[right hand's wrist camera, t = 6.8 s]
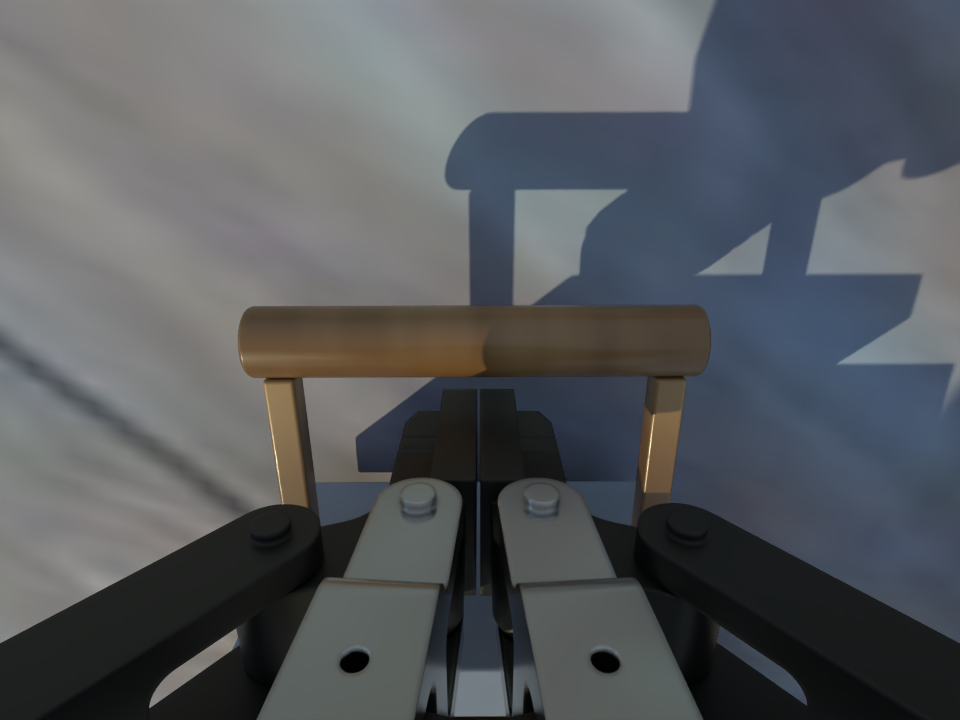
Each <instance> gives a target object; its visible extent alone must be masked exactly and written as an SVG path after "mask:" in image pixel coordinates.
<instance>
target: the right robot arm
mask: <svg viewBox="0 0 960 720" xmlns="http://www.w3.org/2000/svg"><path fill="white" fill-rule="evenodd" d="M557 448H558V447H557V443H556V439H555V435H554V431H553V427H552V423H551V422H550V421H549V420H548V419H547V418H545V417H544V416H543V415H542V414H541V413H540V412H539V411H517V410H516V403H515V395H514V389H480V596H492V612H493V617H494V619H495V621H496V641H497V649H498V657H499V665H500V673H501V681H502V689H503V697H504V705H505V713H506V719H502V720H960V643H958V642H956V641H954V640H952V639H950V638H948V637H947V636H945V635H943V634H941V633H939V632H937V631H935V630H933V629H931V628H929V627H928V626H926V625H924V624H922V623H920V622H918V621H916V620H914V619H912V618H910V617H909V616H907V615H905V614H903V613H901V612H899V611H897V610H895V609H893V608H891V607H890V606H888V605H886V604H884V603H882V602H880V601H878V600H876V599H874V598H872V597H871V596H869V595H867V594H865V593H863V592H861V591H859V590H857V589H855V588H853V587H852V586H850V585H848V584H846V583H844V582H842V581H840V580H838V579H836V578H834V577H833V576H831V575H829V574H827V573H825V572H823V571H821V570H819V569H817V568H815V567H814V566H812V565H810V564H808V563H806V562H804V561H802V560H800V559H798V558H796V557H795V556H793V555H791V554H789V553H787V552H785V551H783V550H781V549H779V548H777V547H776V546H774V545H772V544H770V543H768V542H766V541H764V540H762V539H760V538H758V537H757V536H755V535H753V534H751V533H749V532H747V531H745V530H743V529H741V528H739V527H738V526H736V525H734V524H732V523H730V522H728V521H726V520H724V519H722V518H720V517H719V516H717V515H715V514H713V513H711V512H709V511H706V510H704V509H701V508H699V507H695V506H691V505H687V504H680V503H664V504H658V505H654V506H651V507H649V508H647V509H646V510H644V511H643V512H642V513H641V514H640V516H639V518H638V521H637V527H634V526H630V525H625V524H620V523H615V522H611V521H607V520H604V519H601V518H598V517H595V516H593V515H591V514H590V512H589V509H588V507H587V504H586V502H585V500H584V498H583V496H582V495H581V494H580V493H579V491H577V490H576V489H575V488H573V487H572V486H570V485H568V484H567V483H566V479H565V475H564V471H563V467H562V463H561V459H560V455H559V451H558V449H557ZM476 561H477V389H443V395H442V402H441V409H440V411H418V412H417V413H416V414H415V415H414V416H413V417H411V418H410V419H409V420H408V421H407V422H406V423H405V427H404V430H403V434H402V439H401V442H400V446H399V450H398V453H397V457H396V461H395V465H394V469H393V473H392V476H391V480H390V484H389V486H388V487H387V488H385V489H384V490H383V491H381V493H380V494H379V495H378V496H377V498H376V500H375V502H374V504H373V507H372V509H371V511H370V512H368V513H366V514H364V515H362V516H360V517H357V518H355V519H352V520H348V521H344V522H340V523H335V524H330V525H325V526H321V524H320V520H319V517H318V516H317V514H316V513H315V512H313V511H312V510H311V509H308V508H306V507H303V506H300V505H293V504H280V505H272V506H267V507H263V508H260V509H257V510H254V511H252V512H250V513H247V514H245V515H243V516H241V517H240V518H238V519H236V520H234V521H232V522H230V523H228V524H226V525H224V526H222V527H221V528H219V529H217V530H215V531H213V532H211V533H209V534H207V535H205V536H203V537H202V538H200V539H198V540H196V541H194V542H192V543H190V544H188V545H186V546H184V547H183V548H181V549H179V550H177V551H175V552H173V553H171V554H169V555H167V556H165V557H164V558H162V559H160V560H158V561H156V562H154V563H152V564H150V565H148V566H146V567H145V568H143V569H141V570H139V571H137V572H135V573H133V574H131V575H129V576H127V577H126V578H124V579H122V580H120V581H118V582H116V583H114V584H112V585H110V586H108V587H107V588H105V589H103V590H101V591H99V592H97V593H95V594H93V595H91V596H89V597H88V598H86V599H84V600H82V601H80V602H78V603H76V604H74V605H72V606H70V607H69V608H67V609H65V610H63V611H61V612H59V613H57V614H55V615H53V616H51V617H50V618H48V619H46V620H44V621H42V622H40V623H38V624H36V625H34V626H32V627H31V628H29V629H27V630H25V631H23V632H21V633H19V634H17V635H15V636H13V637H12V638H10V639H8V640H6V641H4V642H2V643H0V720H458V719H454V713H455V705H456V697H457V689H458V681H459V673H460V665H461V657H462V649H463V641H464V596H476ZM720 626H721V627H723V628H724V629H726V630H727V631H729V632H730V633H732V634H733V635H735V636H736V637H738V638H739V639H741V640H742V641H744V642H745V643H747V644H748V645H750V646H751V647H753V648H754V649H756V650H757V651H758V652H760V653H761V654H763V655H764V656H766V657H767V658H769V659H770V660H772V661H773V662H775V663H776V664H778V665H779V666H781V667H782V668H783V669H785V670H786V671H787V672H788V673H789V674H791V675H792V676H793V678H794V679H795V680H796V681H797V682H798V684H799V685H800V686H801V688H802V690H803V692H804V694H805V696H806V699H807V705H808V706H806V705H805V704H803V703H802V702H801V701H799V700H798V699H796V698H795V697H793V696H792V695H791V694H789V693H788V692H786V691H785V690H783V689H782V688H781V687H779V686H778V685H776V684H775V683H774V682H772V681H771V680H769V679H768V678H766V677H765V676H764V675H762V674H761V673H759V672H758V671H756V670H755V669H754V668H752V667H751V666H749V665H748V664H746V663H745V662H744V661H742V660H741V659H739V658H738V657H737V656H735V655H734V654H732V653H731V652H729V651H728V650H727V649H725V648H724V647H722V646H721V645H719V644H718V643H717V637H718V632H719V627H720ZM234 629H237V634H238V639H239V644H240V645H239V646H238V647H236V648H235V649H233V650H232V651H231V652H229V653H228V654H226V655H225V656H223V657H222V658H221V659H219V660H218V661H216V662H215V663H213V664H212V665H211V666H209V667H208V668H206V669H205V670H204V671H202V672H201V673H199V674H198V675H196V676H195V677H194V678H192V679H191V680H189V681H188V682H186V683H185V684H184V685H182V686H181V687H179V688H178V689H177V690H175V691H174V692H172V693H171V694H169V695H168V696H167V697H165V698H164V699H162V700H161V701H159V702H158V703H157V704H155V705H154V706H152V707H151V708H149V704H150V700H151V698H152V695H153V693H154V691H155V690H156V688H157V687H158V685H159V684H160V683H161V682H162V681H163V679H164V678H165V677H166V676H167V675H169V674H170V673H171V672H172V671H174V670H175V669H176V668H178V667H179V666H181V665H182V664H184V663H185V662H187V661H188V660H190V659H191V658H193V657H194V656H196V655H197V654H199V653H200V652H202V651H203V650H204V649H206V648H207V647H209V646H210V645H212V644H213V643H215V642H216V641H218V640H219V639H221V638H222V637H224V636H225V635H227V634H228V633H230V632H231V631H233V630H234Z"/></svg>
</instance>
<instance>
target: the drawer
mask: <svg viewBox="0 0 960 720" xmlns="http://www.w3.org/2000/svg"><path fill="white" fill-rule="evenodd" d="M710 347H711V332H710V325H709V320H708V317H707V314H706V312H705V311H704V309H703V308H702V307H700V306H698V305H484V306H253V307H250V308H248V309H247V310H246V311H245V312H244V314H243V315H242V318H241V321H240V325H239V331H238V351H239V357H240V361H241V364H242V367H243V369H244V371H245V372H246V374H247V375H249V376H251V377H253V378H266V379H265V380H264V382H263V386H264V392H265V399H266V405H267V412H268V419H269V425H270V432H271V438H272V445H273V451H274V458H275V464H276V471H277V477H278V484H279V490H280V497H281V503H282V504H293V505H300V506H303V507H306V508H308V509H311V510H312V511H313V512H315V513H316V514H317V516H318V517H319V520H320V524H321V526H325V525H330V524H335V523H340V522H344V521H348V520H352V519H355V518H357V517H360V516H362V515H364V514H366V513H368V512H370V511H371V509H372V507H373V504H374V502H375V500H376V498H377V496H378V495H379V494H380V493H381V491H383V490H384V489H385V488H387V487H388V486H389V484H390V482H322V483H315V476H314V468H313V460H312V452H311V444H310V436H309V428H308V420H307V412H306V404H305V396H304V388H303V380H302V378H363V377H609V376H648V380H647V389H646V397H645V406H644V415H643V424H642V433H641V442H640V451H639V460H638V469H637V477H636V481H566V483H567V484H568V485H570V486H572V487H573V488H575V489H576V490H577V491H579V493H580V494H581V495H582V496H583V498H584V500H585V502H586V504H587V507H588V509H589V512H590V514H591V515H593V516H595V517H598V518H601V519H604V520H607V521H611V522H615V523H620V524H625V525H630V526H634V527H637V521H638V518H639V516H640V514H641V513H642V512H643V511H644V510H646V509H647V508H649V507H651V506H654V505H658V504H664V503H670V497H671V490H672V482H673V475H674V468H675V461H676V454H677V447H678V440H679V432H680V425H681V418H682V411H683V404H684V397H685V389H686V382H687V381H686V379H685V378H684V376H697V375H699V374H701V373H702V372H703V371H704V369H705V368H706V365H707V363H708V359H709V355H710ZM239 645H240V644H239V639H237V641H236V643H235V645H234V647H233V649H235V648H236V647H238V646H239ZM233 649H232V650H233ZM454 719H458V720H502V719H506V713H505V705H504V697H503V689H502V681H501V673H500V665H499V657H498V649H497V641H496V621H495V619H494V617H493V612H492V596H480V482H477V561H476V596H464V641H463V649H462V657H461V665H460V673H459V681H458V689H457V697H456V705H455V713H454Z"/></svg>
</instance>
